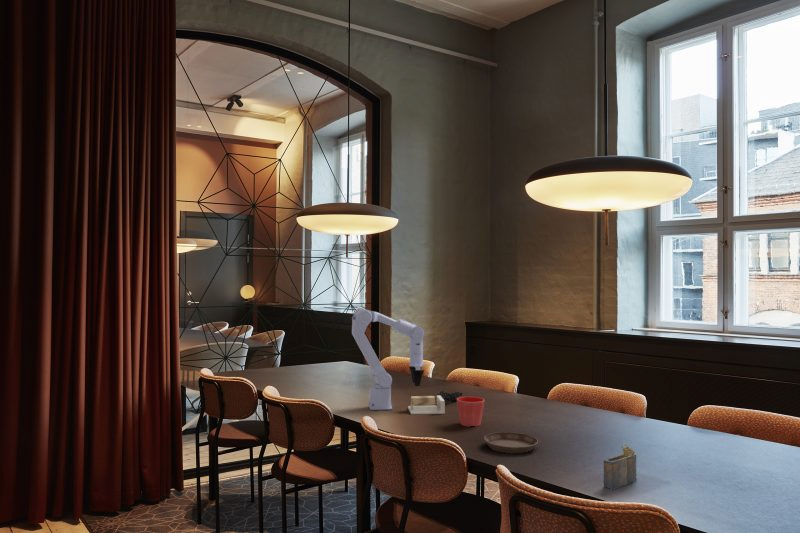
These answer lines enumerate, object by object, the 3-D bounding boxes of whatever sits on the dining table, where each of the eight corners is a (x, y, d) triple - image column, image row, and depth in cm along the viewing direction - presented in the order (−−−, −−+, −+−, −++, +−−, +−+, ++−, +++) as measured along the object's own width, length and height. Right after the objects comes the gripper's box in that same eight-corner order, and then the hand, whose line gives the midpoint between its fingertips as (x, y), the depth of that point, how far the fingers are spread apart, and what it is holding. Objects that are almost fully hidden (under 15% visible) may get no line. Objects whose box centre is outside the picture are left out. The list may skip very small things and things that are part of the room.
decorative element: (440, 408, 263) (440, 395, 263) (430, 407, 265) (430, 393, 265) (463, 401, 281) (464, 388, 282) (454, 400, 284) (454, 387, 284)
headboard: (411, 414, 252) (411, 401, 252) (408, 408, 264) (408, 395, 264) (444, 413, 253) (444, 400, 253) (440, 407, 265) (440, 395, 265)
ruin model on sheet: (626, 479, 172) (626, 444, 172) (636, 482, 170) (636, 447, 170) (602, 487, 165) (602, 451, 165) (612, 491, 163) (611, 454, 163)
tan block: (411, 410, 256) (411, 398, 256) (410, 408, 260) (410, 396, 260) (435, 409, 257) (435, 397, 257) (434, 407, 261) (434, 395, 261)
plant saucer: (549, 450, 200) (549, 441, 200) (508, 458, 191) (508, 449, 191) (512, 438, 215) (512, 429, 215) (473, 445, 206) (473, 436, 206)
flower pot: (488, 422, 237) (488, 397, 237) (479, 429, 227) (479, 402, 227) (462, 420, 242) (462, 395, 242) (452, 426, 232) (452, 400, 232)
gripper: (427, 355, 261) (427, 387, 261) (423, 351, 276) (423, 381, 276) (411, 355, 261) (411, 387, 261) (407, 351, 275) (407, 381, 275)
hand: (416, 384), depth 268 cm, fingers open, 7 cm apart
